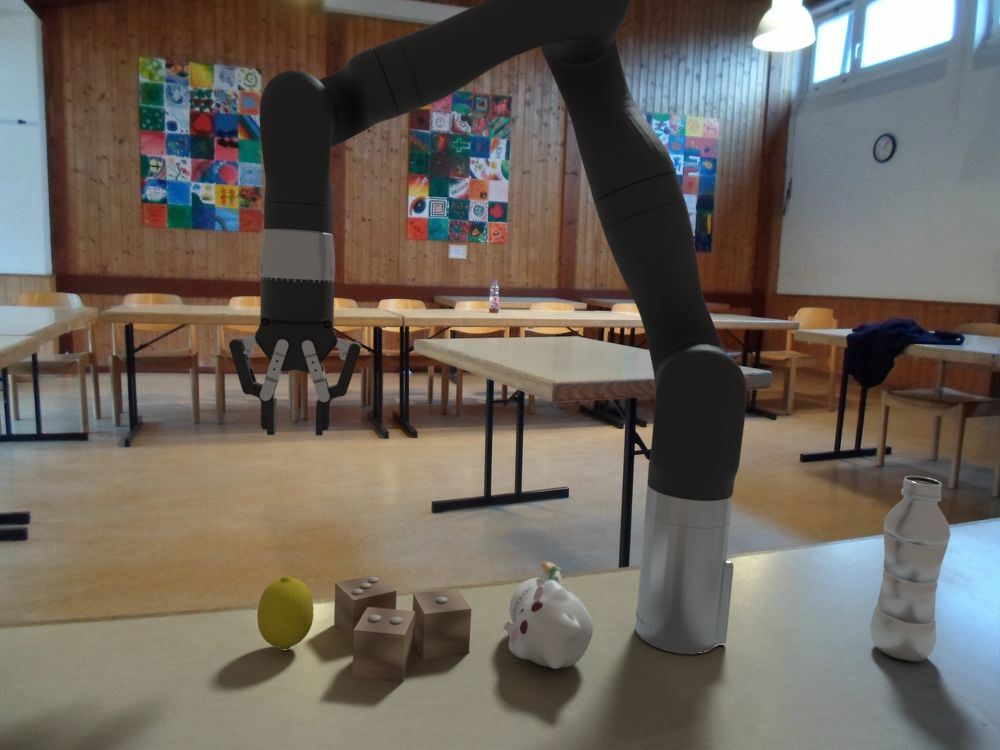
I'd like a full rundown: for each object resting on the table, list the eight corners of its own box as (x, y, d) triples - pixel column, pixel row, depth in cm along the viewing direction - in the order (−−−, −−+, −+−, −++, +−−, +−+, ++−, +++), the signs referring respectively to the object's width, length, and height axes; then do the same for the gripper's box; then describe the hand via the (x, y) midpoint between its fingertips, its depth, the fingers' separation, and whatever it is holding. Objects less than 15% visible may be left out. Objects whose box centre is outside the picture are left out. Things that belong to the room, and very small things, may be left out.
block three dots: (375, 615, 83) (376, 572, 83) (394, 634, 79) (396, 588, 79) (334, 625, 81) (335, 580, 80) (352, 645, 77) (353, 598, 76)
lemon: (297, 667, 71) (298, 590, 70) (246, 659, 73) (247, 583, 71) (321, 641, 77) (323, 569, 76) (274, 633, 78) (275, 562, 77)
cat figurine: (528, 541, 83) (562, 580, 69) (584, 576, 85) (629, 621, 70) (483, 613, 83) (508, 668, 68) (541, 647, 84) (577, 708, 69)
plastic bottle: (929, 648, 83) (952, 478, 80) (936, 676, 77) (962, 493, 74) (866, 634, 85) (887, 469, 83) (868, 659, 79) (891, 482, 77)
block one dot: (455, 631, 81) (457, 587, 80) (469, 653, 76) (471, 606, 75) (411, 636, 79) (413, 591, 78) (422, 660, 74) (424, 612, 74)
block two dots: (413, 656, 75) (415, 609, 74) (402, 683, 70) (404, 632, 69) (366, 652, 75) (367, 605, 75) (352, 678, 70) (353, 628, 70)
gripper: (367, 279, 81) (362, 427, 84) (233, 271, 79) (232, 425, 81) (366, 279, 74) (361, 442, 76) (219, 271, 71) (219, 441, 74)
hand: (295, 433), depth 79 cm, fingers open, 4 cm apart
